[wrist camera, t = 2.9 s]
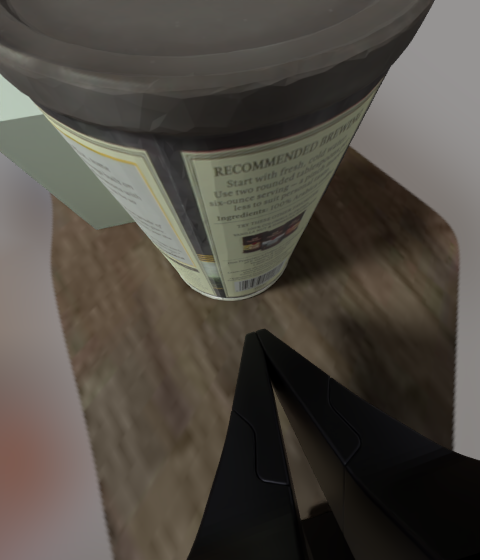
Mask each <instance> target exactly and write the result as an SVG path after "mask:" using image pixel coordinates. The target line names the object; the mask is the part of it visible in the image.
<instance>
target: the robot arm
mask: <svg viewBox="0 0 480 560" xmlns="http://www.w3.org/2000/svg"><path fill="white" fill-rule="evenodd" d="M271 383H272V384H271ZM272 386H273V388H274V390H275V392H276V394H277V396H278V399H279V401H280V403H281V405H282V407H283V409H284V411H285V413H286V415H287V417H288V420H289V422H290V424H291V426H292V428H293V430H294V432H295V434H296V436H297V438H298V440H299V443H300V445H301V447H302V449H303V451H304V453H305V455H306V457H307V459H308V461H309V464H310V466H311V468H312V470H313V472H314V474H315V476H316V478H317V480H318V482H319V485H320V487H321V489H322V491H323V493H324V495H325V497H326V499H327V501H328V503H329V505H330V508H331V510H332V512H329V513H326V514H323V515H320V516H317V517H314V518H311V519H308V520H305V521H302V522H301V519H300V514H299V509H298V505H297V500H296V495H295V491H294V486H293V481H292V477H291V472H290V467H289V463H288V458H287V453H286V449H285V444H284V439H283V435H282V430H281V425H280V421H279V416H278V411H277V407H276V402H275V397H274V393H273V388H272ZM187 560H480V460H476V459H473V458H470V457H467V456H464V455H461V454H459V453H456V452H454V451H452V450H449V449H447V448H445V447H443V446H441V445H439V444H437V443H435V442H433V441H431V440H430V439H428V438H426V437H424V436H423V435H421V434H419V433H418V432H416V431H414V430H413V429H411V428H409V427H408V426H406V425H404V424H403V423H401V422H399V421H398V420H396V419H394V418H393V417H391V416H389V415H388V414H386V413H384V412H383V411H381V410H379V409H378V408H376V407H374V406H373V405H371V404H370V403H368V402H366V401H365V400H363V399H362V398H360V397H358V396H357V395H355V394H354V393H353V392H351V391H350V390H348V389H347V388H345V387H344V386H343V385H341V384H340V383H338V382H337V381H336V380H334V379H333V378H330V376H329V375H327V374H326V373H325V372H323V371H322V370H321V369H319V368H318V367H317V366H315V365H314V364H312V363H311V362H310V361H308V360H307V359H306V358H304V357H303V356H302V355H300V354H299V353H297V352H296V351H295V350H293V349H292V348H291V347H289V346H288V345H287V344H285V343H284V342H282V341H281V340H280V339H278V338H277V337H276V336H274V335H273V334H272V333H270V332H269V331H268V330H266V329H262V330H258V331H256V333H255V332H252V333H249V334H246V336H245V342H244V347H243V352H242V358H241V363H240V368H239V374H238V379H237V384H236V390H235V395H234V400H233V406H232V411H231V416H230V421H229V426H228V430H227V435H226V440H225V443H224V447H223V451H222V454H221V458H220V462H219V465H218V468H217V471H216V475H215V478H214V481H213V485H212V488H211V491H210V494H209V498H208V501H207V504H206V508H205V511H204V514H203V518H202V521H201V524H200V527H199V530H198V533H197V535H196V538H195V541H194V543H193V546H192V548H191V551H190V553H189V555H188V558H187Z"/></svg>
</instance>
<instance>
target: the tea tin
mask: <svg viewBox="0 0 480 560" xmlns="http://www.w3.org/2000/svg"><path fill="white" fill-rule="evenodd" d="M0 152H1V153H2V154H4V155H5V156H6V157H7V158H9V159H10V160H11V161H12V162H14V163H15V164H16V165H17V166H18V167H20V168H21V169H22V170H23V171H25V172H26V173H27V174H28V175H30V176H31V177H32V178H33V179H35V180H36V181H37V182H38V183H39V184H41V185H42V186H43V187H44V188H46V189H47V190H48V191H49V192H50V193H52V194H53V195H54V196H55V197H57V198H58V199H59V200H60V201H62V202H63V203H64V204H65V205H66V206H68V207H69V208H70V209H71V210H73V211H74V212H75V213H76V214H78V215H79V216H80V217H81V218H82V219H84V220H85V221H86V222H87V223H89V224H90V225H91V226H92V227H94V228H95V229H96V230H98V229H102V228H107V227H112V226H117V225H121V224H126V223H131V222H135V220H134V219H133V218H132V217H131V216H130V215H129V213H128V212H127V211H126V210H125V209H124V208H123V206H122V205H121V204H120V203H119V202H118V201H117V199H116V198H115V197H114V196H113V195H112V194H111V193H110V191H109V190H108V189H107V188H106V187H105V186H104V184H103V183H102V182H101V181H100V180H99V179H98V177H97V176H96V175H95V174H94V173H93V172H92V170H91V169H90V168H89V167H88V166H87V164H86V163H85V162H84V161H83V160H82V159H81V157H80V156H79V155H78V154H77V153H76V152H75V150H74V149H73V148H72V147H71V146H70V144H69V143H68V142H67V141H66V140H65V139H64V137H63V136H62V135H61V134H60V133H59V132H58V130H57V129H56V128H55V127H54V126H53V125H52V124H51V122H50V121H49V120H48V119H47V118H46V117H45V115H44V114H43V113H42V112H41V111H40V109H39V108H38V107H37V106H36V105H35V103H34V102H33V101H32V100H31V99H30V98H29V97H28V96H27V95H25V94H23V93H22V92H20V91H19V90H18V89H17V88H15V87H14V86H13V85H12V84H11V83H10V82H8V81H7V80H6V79H5V78H4V77H3V76H2V75H1V74H0Z"/></svg>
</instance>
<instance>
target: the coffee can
mask: <svg viewBox="0 0 480 560" xmlns="http://www.w3.org/2000/svg"><path fill="white" fill-rule="evenodd" d="M433 2H434V0H0V74H1V75H2V76H3V77H4V78H5V79H6V80H7V81H8V82H10V83H11V84H12V85H13V86H14V87H15V88H17V89H18V90H19V91H20V92H22V93H23V94H25V95H27V96H28V97H29V98H30V99H31V100H32V101H33V102H34V103H35V105H36V106H37V107H38V108H39V109H40V111H41V112H42V113H43V114H44V115H45V117H46V118H47V119H48V120H49V121H50V122H51V124H52V125H53V126H54V127H55V128H56V129H57V130H58V132H59V133H60V134H61V135H62V136H63V137H64V139H65V140H66V141H67V142H68V143H69V144H70V146H71V147H72V148H73V149H74V150H75V152H76V153H77V154H78V155H79V156H80V157H81V159H82V160H83V161H84V162H85V163H86V164H87V166H88V167H89V168H90V169H91V170H92V172H93V173H94V174H95V175H96V176H97V177H98V179H99V180H100V181H101V182H102V183H103V184H104V186H105V187H106V188H107V189H108V190H109V191H110V193H111V194H112V195H113V196H114V197H115V198H116V199H117V201H118V202H119V203H120V204H121V205H122V206H123V208H124V209H125V210H126V211H127V212H128V213H129V215H130V216H131V217H132V218H133V219H134V220H135V222H136V223H137V224H138V225H139V226H140V228H141V229H142V230H143V231H144V232H145V233H146V234H147V236H148V237H149V238H150V239H151V241H152V242H153V243H154V244H155V245H156V246H157V248H158V249H159V250H160V251H161V252H162V253H163V255H164V256H165V257H166V258H167V259H168V260H169V262H170V263H171V264H172V265H173V266H174V267H175V269H176V270H177V271H178V273H179V274H180V276H181V277H182V279H183V280H184V281H185V282H186V283H187V284H188V285H189V286H190V287H191V288H193V289H194V290H195V291H197V292H199V293H201V294H203V295H205V296H208V297H210V298H214V299H218V300H227V301H234V300H242V299H246V298H249V297H253V296H255V295H257V294H259V293H261V292H263V291H265V290H266V289H268V288H269V287H270V286H271V285H273V284H274V283H275V282H276V281H277V280H278V278H279V277H280V276H281V275H282V273H283V271H284V270H285V268H286V266H287V263H288V260H289V258H290V256H291V255H292V253H293V251H294V249H295V247H296V245H297V243H298V241H299V239H300V237H301V235H302V233H303V231H304V230H305V228H306V226H307V224H308V222H309V220H310V218H311V216H312V214H313V213H314V211H315V209H316V207H317V205H318V203H319V201H320V200H321V198H322V196H323V195H324V194H325V192H326V189H327V188H328V186H329V184H330V182H331V180H332V178H333V176H334V174H335V172H336V170H337V168H338V166H339V164H340V162H341V161H342V159H343V157H344V155H345V153H346V151H347V149H348V147H349V145H350V143H351V141H352V139H353V137H354V135H355V133H356V131H357V129H358V128H359V125H360V124H361V121H362V120H363V118H364V116H365V114H366V112H367V110H368V109H369V107H370V105H371V103H372V101H373V99H374V97H375V95H376V93H377V91H378V89H379V87H380V85H381V84H382V81H383V80H384V78H385V76H386V74H387V72H388V70H389V69H390V67H391V65H392V64H393V63H394V62H395V61H396V60H397V59H398V58H399V56H400V55H401V54H402V53H403V51H404V50H405V49H406V48H407V46H408V45H409V43H410V42H411V41H412V39H413V37H414V36H415V34H416V33H417V31H418V29H419V28H420V26H421V24H422V22H423V21H424V19H425V17H426V15H427V14H428V12H429V10H430V8H431V6H432V4H433Z"/></svg>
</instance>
